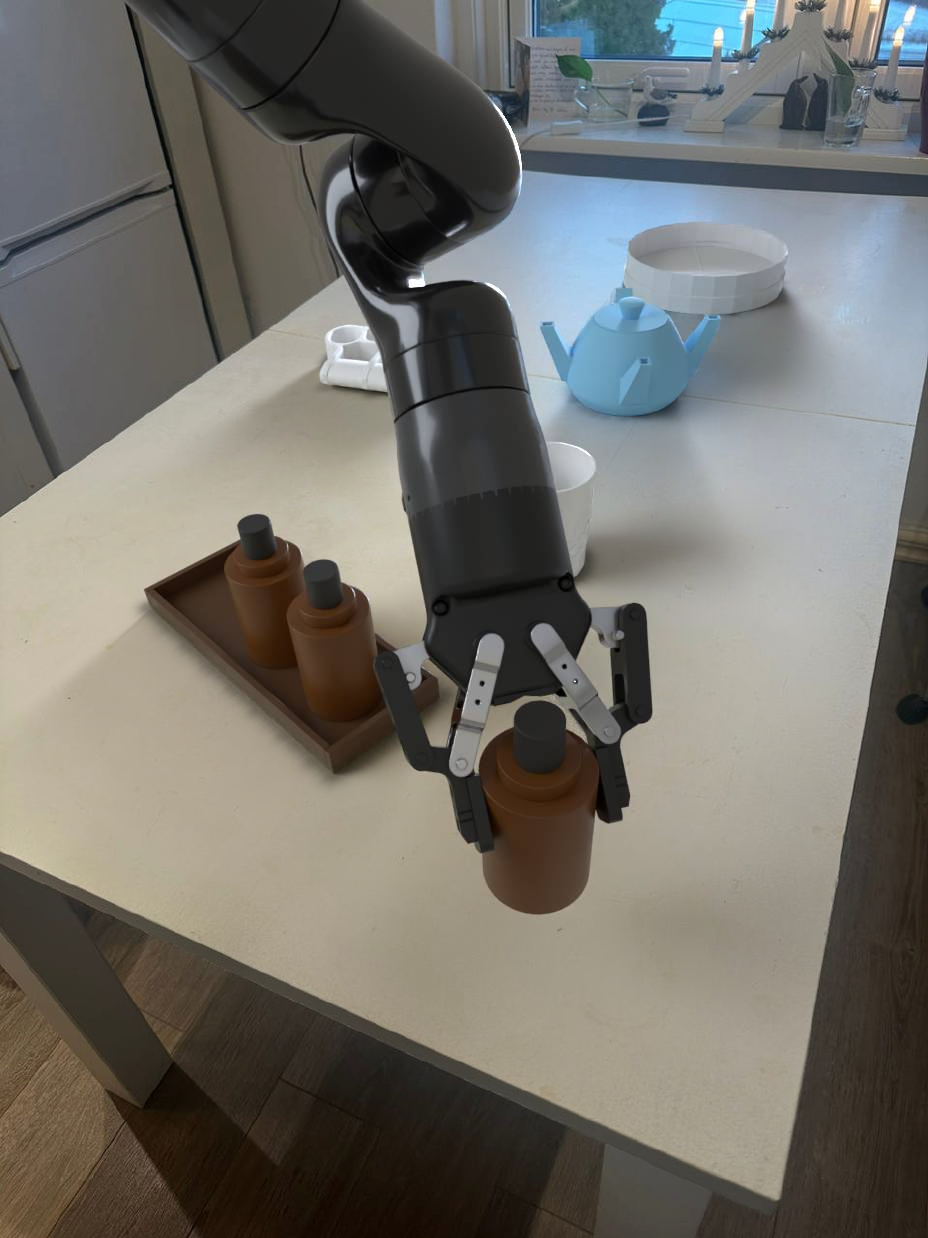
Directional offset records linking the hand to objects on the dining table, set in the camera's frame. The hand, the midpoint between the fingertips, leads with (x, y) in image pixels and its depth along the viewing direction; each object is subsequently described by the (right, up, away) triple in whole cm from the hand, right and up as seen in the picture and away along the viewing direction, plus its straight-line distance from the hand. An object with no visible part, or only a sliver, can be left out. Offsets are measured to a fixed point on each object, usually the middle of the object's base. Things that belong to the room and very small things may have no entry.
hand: (548, 833), depth 43 cm
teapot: (+15, +37, +59) cm, 71 cm away
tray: (-19, +8, +28) cm, 35 cm away
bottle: (0, -3, +5) cm, 6 cm away
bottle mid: (-19, +9, +28) cm, 35 cm away
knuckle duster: (-13, +41, +66) cm, 79 cm away
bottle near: (-13, +5, +24) cm, 27 cm away
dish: (+30, +58, +82) cm, 105 cm away
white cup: (+3, +15, +36) cm, 39 cm away
